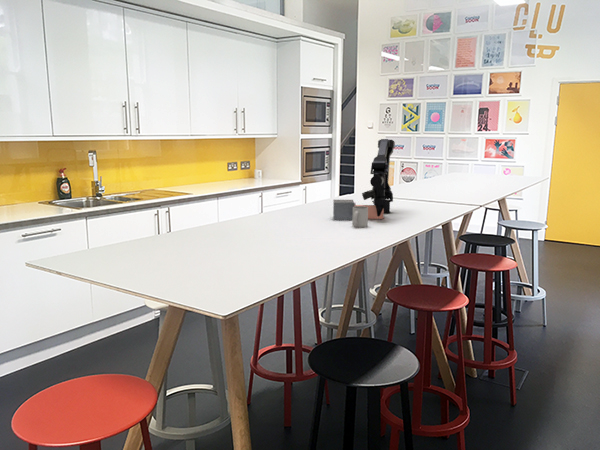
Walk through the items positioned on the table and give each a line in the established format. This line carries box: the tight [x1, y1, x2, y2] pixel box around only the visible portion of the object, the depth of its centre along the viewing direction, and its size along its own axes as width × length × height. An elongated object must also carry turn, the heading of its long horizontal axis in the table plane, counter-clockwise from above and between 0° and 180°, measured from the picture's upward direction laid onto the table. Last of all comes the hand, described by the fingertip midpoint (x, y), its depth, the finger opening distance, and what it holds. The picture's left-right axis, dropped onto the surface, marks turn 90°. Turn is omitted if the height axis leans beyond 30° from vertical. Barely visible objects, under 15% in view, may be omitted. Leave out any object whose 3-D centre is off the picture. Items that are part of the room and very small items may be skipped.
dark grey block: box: [332, 199, 357, 221], centre depth 257 cm, size 11×10×9 cm
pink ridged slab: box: [354, 204, 385, 220], centre depth 257 cm, size 17×2×7 cm, turn 87°
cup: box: [351, 206, 369, 229], centre depth 237 cm, size 7×10×9 cm
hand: (378, 215), depth 257 cm, fingers closed on pink ridged slab, 2 cm apart
